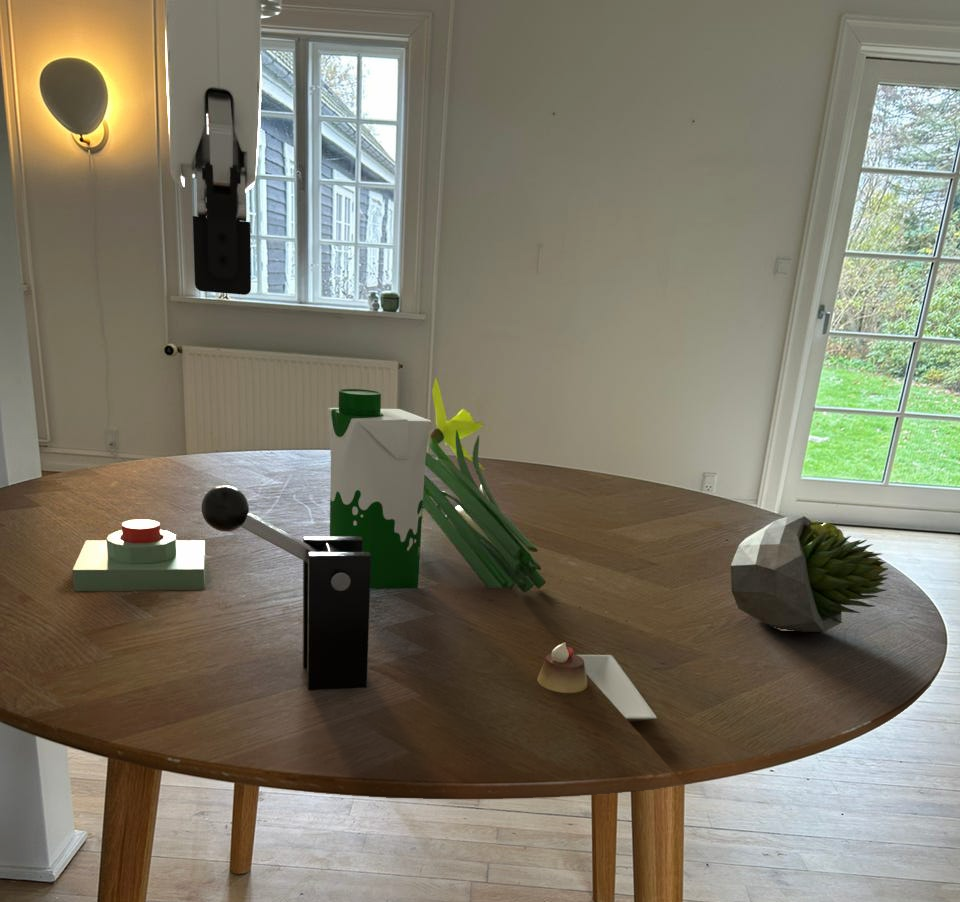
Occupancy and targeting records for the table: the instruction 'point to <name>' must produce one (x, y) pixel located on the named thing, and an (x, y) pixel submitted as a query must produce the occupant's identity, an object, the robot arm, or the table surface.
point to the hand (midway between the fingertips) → (221, 289)
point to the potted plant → (803, 575)
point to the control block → (140, 564)
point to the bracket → (336, 613)
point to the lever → (249, 521)
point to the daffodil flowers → (474, 509)
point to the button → (141, 531)
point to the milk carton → (378, 484)
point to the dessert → (570, 677)
